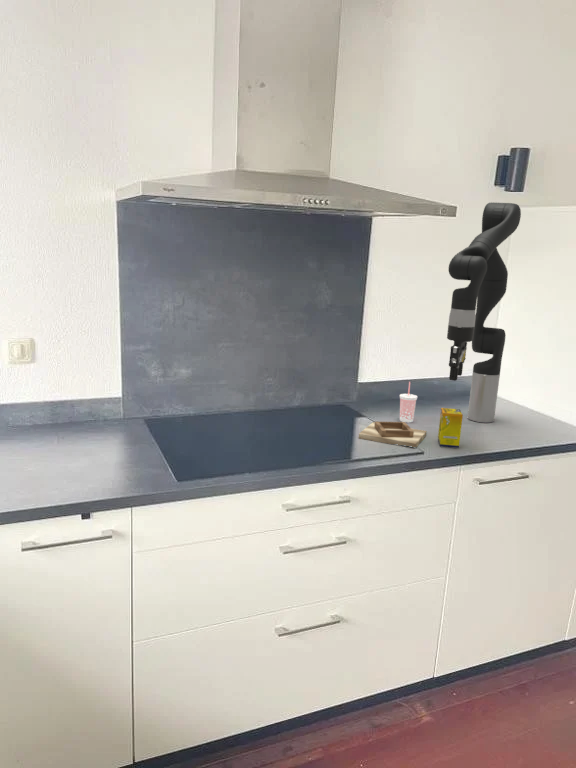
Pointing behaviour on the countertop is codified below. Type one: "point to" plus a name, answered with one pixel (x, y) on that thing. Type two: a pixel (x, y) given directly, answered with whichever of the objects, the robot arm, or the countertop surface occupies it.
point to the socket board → (392, 440)
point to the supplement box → (450, 427)
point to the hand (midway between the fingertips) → (455, 377)
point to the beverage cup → (407, 406)
